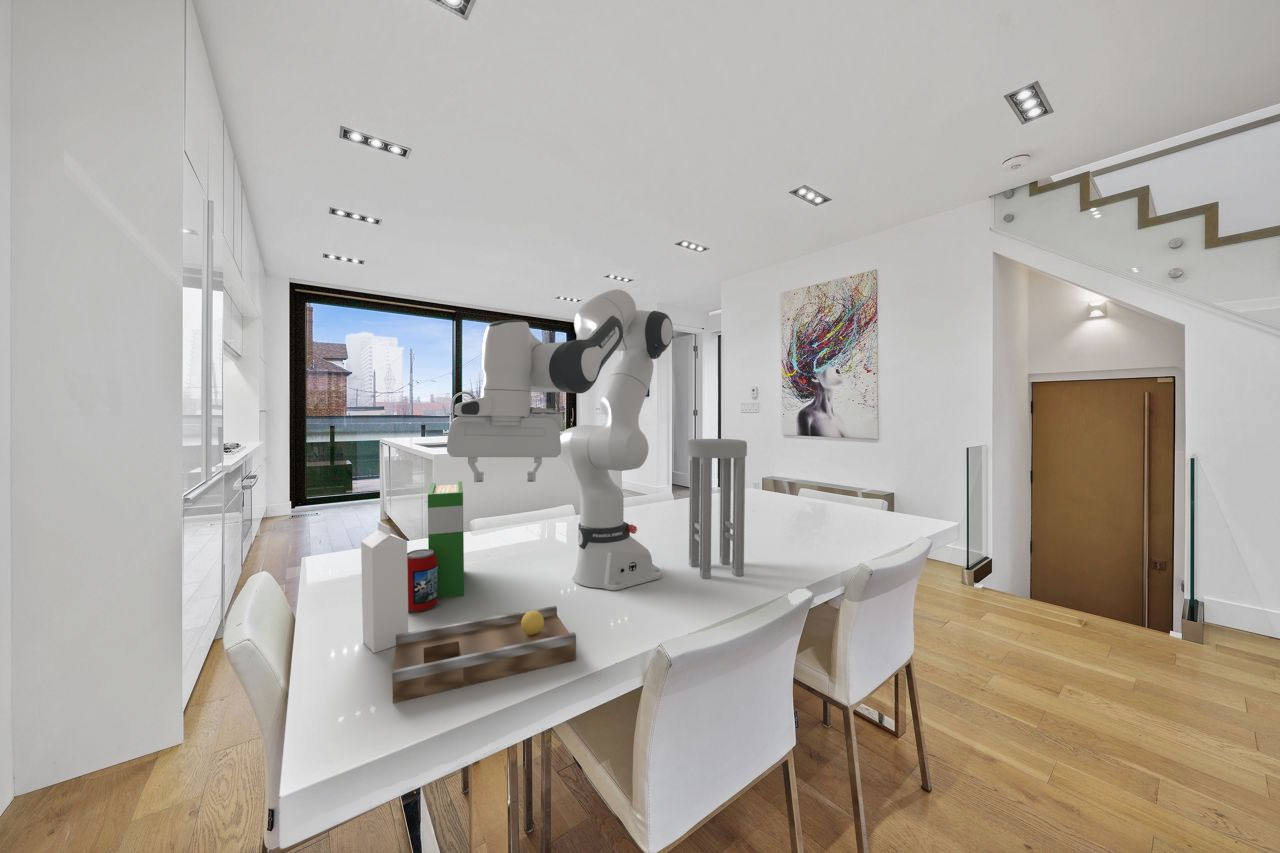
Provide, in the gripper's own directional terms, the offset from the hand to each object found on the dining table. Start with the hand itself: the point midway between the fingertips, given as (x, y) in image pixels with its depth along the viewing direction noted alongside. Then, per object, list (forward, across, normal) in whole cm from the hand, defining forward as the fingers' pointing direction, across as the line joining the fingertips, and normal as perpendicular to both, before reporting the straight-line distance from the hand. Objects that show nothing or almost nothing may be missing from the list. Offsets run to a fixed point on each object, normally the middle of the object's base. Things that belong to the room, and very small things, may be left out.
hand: (505, 481), depth 87 cm
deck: (+30, +2, +6) cm, 31 cm away
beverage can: (+30, +19, -18) cm, 40 cm away
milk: (+30, +21, -4) cm, 37 cm away
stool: (+28, -52, -30) cm, 67 cm away
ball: (+25, -6, +5) cm, 26 cm away
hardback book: (+30, +16, -32) cm, 46 cm away
